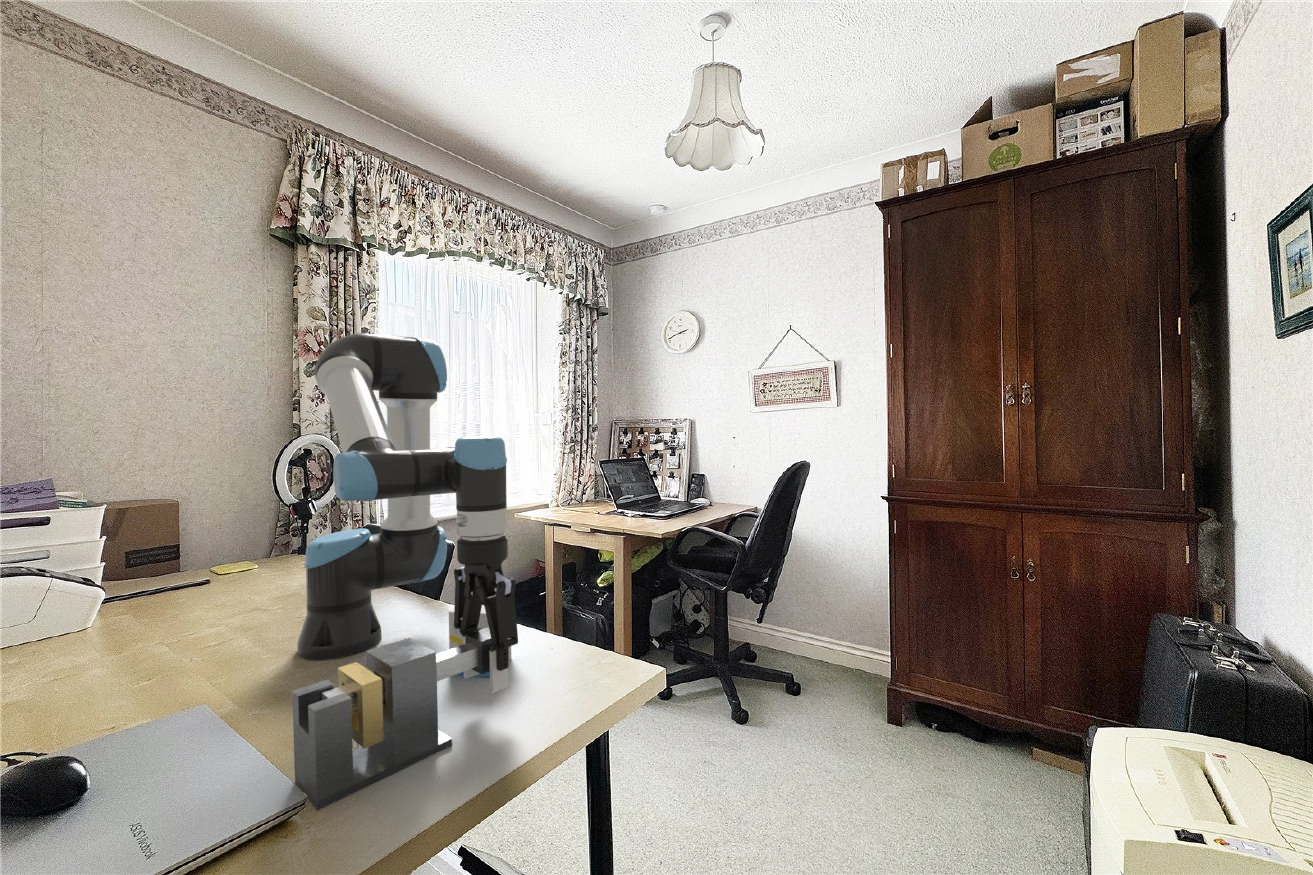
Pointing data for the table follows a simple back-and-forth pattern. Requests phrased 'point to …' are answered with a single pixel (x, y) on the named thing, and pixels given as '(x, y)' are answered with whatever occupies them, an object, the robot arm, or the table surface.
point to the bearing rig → (407, 726)
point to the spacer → (364, 703)
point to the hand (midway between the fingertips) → (485, 681)
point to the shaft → (442, 664)
